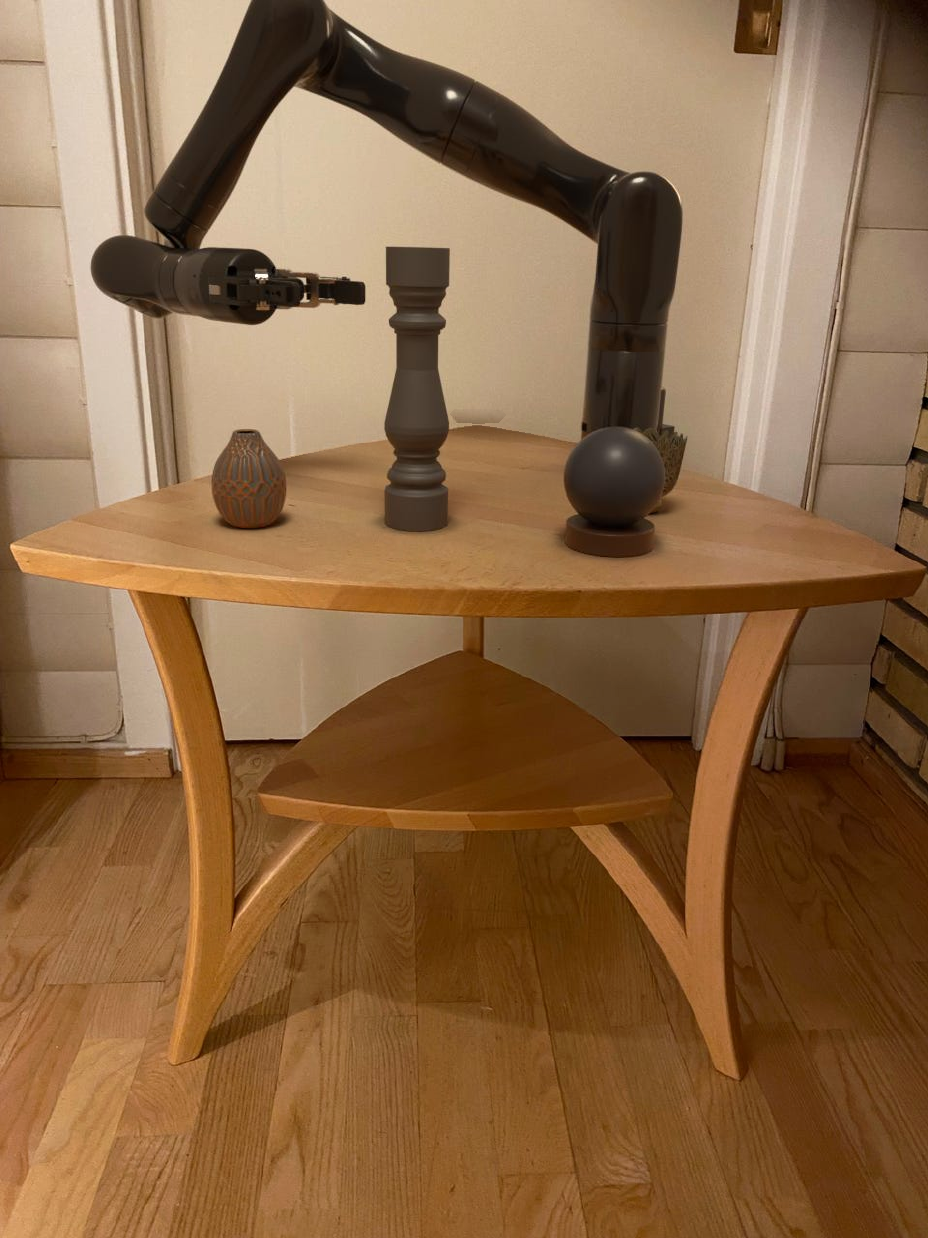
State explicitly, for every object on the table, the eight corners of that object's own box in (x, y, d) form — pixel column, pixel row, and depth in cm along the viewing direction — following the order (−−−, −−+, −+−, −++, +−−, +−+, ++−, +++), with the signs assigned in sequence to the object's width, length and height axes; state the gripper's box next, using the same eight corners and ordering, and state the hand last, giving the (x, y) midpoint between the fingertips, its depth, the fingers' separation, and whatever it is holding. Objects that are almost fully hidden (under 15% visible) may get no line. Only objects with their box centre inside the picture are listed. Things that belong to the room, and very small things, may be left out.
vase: (300, 518, 94) (297, 428, 91) (264, 536, 88) (259, 440, 85) (239, 510, 96) (233, 422, 93) (199, 527, 90) (192, 434, 87)
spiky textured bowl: (635, 523, 95) (642, 442, 92) (592, 505, 101) (598, 429, 98) (694, 515, 98) (703, 437, 95) (649, 499, 104) (656, 425, 101)
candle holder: (440, 533, 90) (444, 248, 81) (376, 528, 91) (373, 246, 82) (454, 516, 96) (459, 248, 87) (394, 511, 97) (393, 246, 88)
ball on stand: (605, 525, 94) (613, 415, 90) (678, 547, 88) (691, 430, 84) (539, 540, 89) (545, 424, 85) (612, 565, 82) (623, 440, 78)
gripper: (166, 245, 95) (272, 251, 86) (277, 248, 106) (383, 253, 96) (172, 324, 98) (275, 338, 89) (280, 319, 108) (383, 331, 99)
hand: (331, 294), depth 92 cm, fingers open, 8 cm apart
